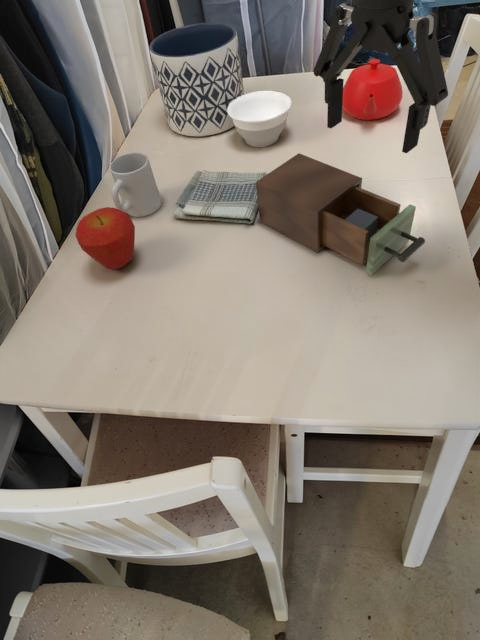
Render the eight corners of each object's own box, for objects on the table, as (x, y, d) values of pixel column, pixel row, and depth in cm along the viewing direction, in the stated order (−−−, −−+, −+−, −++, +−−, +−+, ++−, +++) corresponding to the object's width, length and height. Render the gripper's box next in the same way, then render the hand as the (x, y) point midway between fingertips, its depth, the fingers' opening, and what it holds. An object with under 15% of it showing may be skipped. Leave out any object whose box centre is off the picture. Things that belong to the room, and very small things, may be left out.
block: (375, 235, 83) (378, 216, 79) (362, 248, 81) (364, 229, 78) (356, 227, 85) (357, 208, 82) (342, 239, 83) (343, 220, 80)
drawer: (429, 250, 80) (438, 215, 74) (392, 285, 76) (399, 251, 70) (345, 212, 90) (347, 178, 84) (308, 241, 86) (308, 208, 80)
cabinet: (358, 219, 89) (362, 178, 82) (317, 253, 85) (318, 211, 77) (299, 193, 98) (298, 152, 90) (259, 221, 93) (255, 182, 86)
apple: (132, 285, 85) (110, 236, 76) (84, 279, 88) (57, 231, 79) (153, 247, 92) (136, 198, 83) (108, 243, 95) (86, 195, 86)
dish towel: (270, 177, 103) (269, 165, 100) (253, 226, 92) (252, 214, 90) (196, 175, 108) (193, 163, 105) (171, 222, 97) (167, 209, 94)
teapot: (343, 91, 126) (345, 44, 117) (400, 89, 122) (407, 40, 113) (335, 136, 111) (337, 86, 102) (400, 136, 107) (408, 83, 98)
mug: (139, 192, 106) (124, 149, 98) (168, 198, 103) (155, 154, 94) (109, 223, 99) (91, 180, 91) (140, 229, 96) (124, 186, 88)
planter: (255, 126, 119) (246, 43, 104) (174, 146, 118) (153, 64, 103) (236, 93, 134) (226, 16, 118) (164, 110, 133) (144, 34, 117)
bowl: (220, 149, 114) (215, 117, 107) (248, 120, 122) (245, 88, 116) (277, 158, 108) (274, 124, 101) (302, 126, 116) (301, 93, 110)
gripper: (286, -36, 57) (292, 125, 73) (474, -21, 43) (431, 172, 59) (323, -52, 60) (321, 106, 76) (511, -42, 46) (460, 148, 62)
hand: (370, 136), depth 68 cm, fingers open, 13 cm apart
